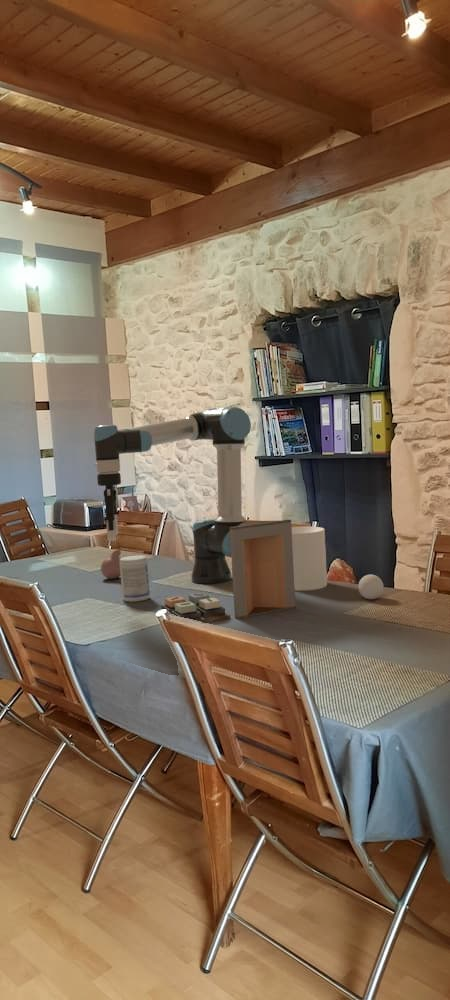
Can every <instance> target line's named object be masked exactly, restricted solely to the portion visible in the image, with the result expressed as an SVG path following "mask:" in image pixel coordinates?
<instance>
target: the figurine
mask: <svg viewBox="0 0 450 1000" xmlns="http://www.w3.org/2000/svg"><path fill="white" fill-rule="evenodd" d="M121 553H122V551H121V550H120V549H118V548H117V549H114V551H112V552H111V554H110V556H108V557H106V558H105V559H104V560H102V562H101V564H100V573H101V574H102V575H103V577H105V578H107V579H110V580H115V579H118V578H120V577H121V575H120V558H122V556H120V555H121Z"/></svg>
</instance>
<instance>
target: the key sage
mask: <svg viewBox="0 0 450 1000" xmlns="http://www.w3.org/2000/svg"><path fill="white" fill-rule="evenodd" d="M175 611H177V612H179V613H180V614H182V613H188V612H194V611H196V604H194V603H192V602H183V603H177V604H175Z"/></svg>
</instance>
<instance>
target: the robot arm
mask: <svg viewBox="0 0 450 1000" xmlns="http://www.w3.org/2000/svg"><path fill="white" fill-rule="evenodd" d="M251 427H252V424H251V419H250V417H249V415H248V413H246V411H245V410H244V409H242V408H241V407H236V406H225V407H216V408H213V407H212V408H209V409H206V410H202V411H199V412H196V413H192V414H187V415H185V416H184V418H179V419H174V420H168V421H163V422H161V421H160V422H156V423H151V424H145V425H140V426H133V427H129V428H124V429H118V426H117V425H116V424H111V425H97V426H95V427H94V431H93V432H94V434H93V435H94V436H93V437H94V439H93V442H94V449H95V460H96V463H94V466H95V467H96V472H97V473H98V474H97V475H96V476H97V479H96V480H97V485H98V486H100V487H103V486H104V487H105V489H104V490H103V497H104V503H105V504H104V505H105V517H103V521H104V522H105V521H106V522H105V523H106V533H107V534H106V535H107V541H108V542H112V541H117V535H119V525H118V522H119V521H118V515H120V511H118V509H117V490H116V487H115V486H117V485H121V483H122V479H121V473H120V472H121V461H120V460H121V459H120V454H131V453H132V454H133V453H145V452H148V451H150V450H151V448H152V446H157V445H163V444H167V443H173V442H178V441H184V440H189V441H192V442H193V441H197V440H211V441H212V446H213V447H214V448H215V449H216V453H217V454H216V455H217V456H216V459H217V460H216V462H217V463H216V465H217V467H216V468H217V516H216V517H215V518H212V519H206V520H205V519H204V520H198V521H195V522H193V525H192V534H193V537H192V538H193V548H194V564H193V568H192V572H191V582H193V583H195V584H218V583H224V582H227V581H230V580H231V579H232V571H231V569H230V567H229V564H228V562H227V560H226V557H228V558H231V543H230V527H236V526H238V525H240V524H242V523H243V522H245V521H247V519H246V518H245V517H244V516H243V513H242V512H243V511H242V509H243V508H242V461H241V460H242V458H241V457H242V455H241V454H242V453H241V451H242V448H243V447H244V446H245V443H246V442H245V440H246V438H247V437H248V436H249V434H250V432H251V429H252V428H251Z"/></svg>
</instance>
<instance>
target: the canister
mask: <svg viewBox="0 0 450 1000" xmlns="http://www.w3.org/2000/svg"><path fill="white" fill-rule="evenodd" d="M291 527H292V526H291ZM325 530H326V529H325V528H324V527H321V526H296V527H295V526H293V527H292V548H293V568H294V588H295V591H299V592H300V591H302V592H303V591H315V590H320V589H324V588H326V587H327V585H328V573H327V553H326V552H327V551H326V532H325Z"/></svg>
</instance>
